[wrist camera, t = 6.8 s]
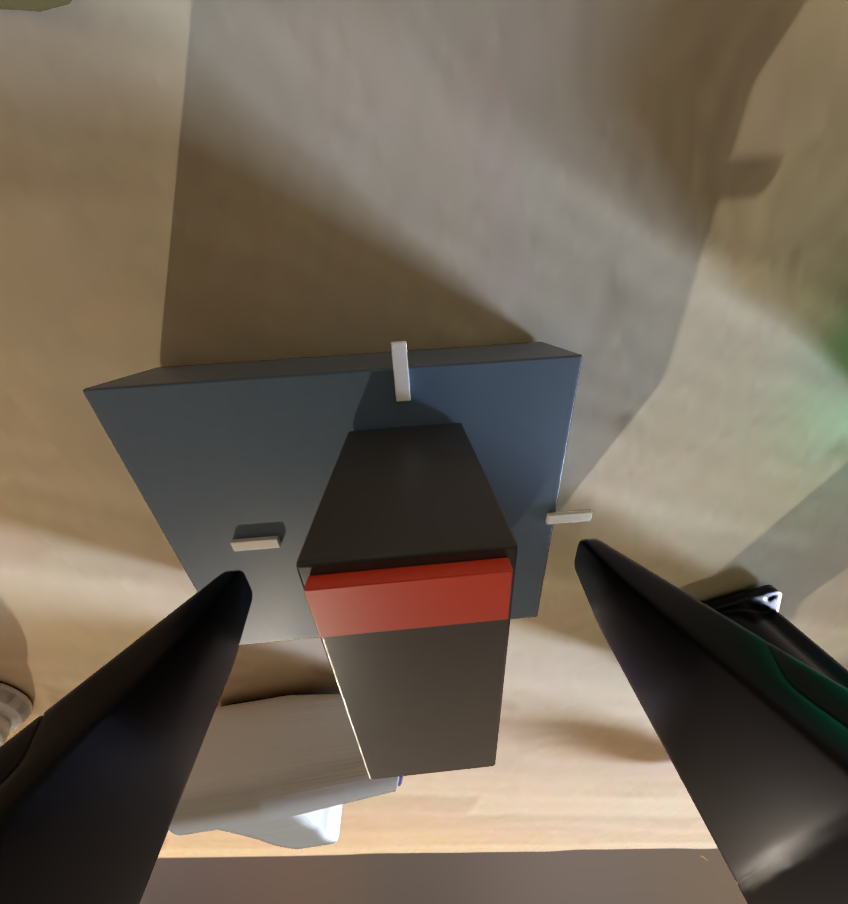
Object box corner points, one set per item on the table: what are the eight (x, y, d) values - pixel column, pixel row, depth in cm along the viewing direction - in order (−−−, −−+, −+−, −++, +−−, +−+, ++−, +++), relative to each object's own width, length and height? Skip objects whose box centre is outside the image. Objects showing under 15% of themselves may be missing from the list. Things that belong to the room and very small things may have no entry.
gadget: (462, 599, 11) (499, 781, 7) (380, 607, 11) (368, 796, 7) (461, 421, 8) (527, 557, 4) (347, 430, 8) (286, 580, 4)
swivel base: (579, 318, 10) (638, 325, 7) (538, 574, 15) (564, 628, 12) (147, 346, 9) (57, 364, 7) (259, 599, 14) (231, 660, 12)
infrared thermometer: (294, 778, 25) (190, 700, 17) (440, 754, 25) (402, 664, 17) (274, 873, 21) (129, 826, 13) (449, 846, 21) (403, 783, 13)
